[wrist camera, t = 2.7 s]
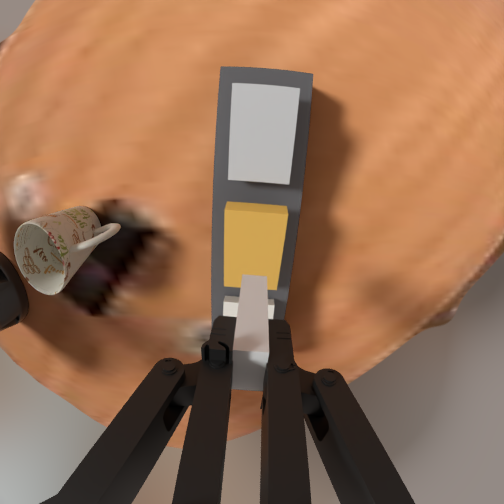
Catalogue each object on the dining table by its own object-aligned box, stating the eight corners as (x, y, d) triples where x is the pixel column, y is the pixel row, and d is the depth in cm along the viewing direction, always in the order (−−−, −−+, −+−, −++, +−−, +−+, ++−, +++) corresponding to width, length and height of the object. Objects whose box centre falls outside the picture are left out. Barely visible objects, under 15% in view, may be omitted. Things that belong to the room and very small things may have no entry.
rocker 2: (225, 275, 27) (223, 286, 26) (226, 201, 23) (224, 209, 22) (276, 279, 27) (276, 290, 26) (286, 205, 23) (288, 214, 22)
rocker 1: (230, 173, 23) (227, 179, 22) (234, 83, 19) (232, 82, 17) (287, 178, 23) (289, 184, 22) (297, 88, 19) (300, 88, 18)
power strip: (217, 363, 39) (212, 390, 34) (226, 76, 24) (219, 64, 19) (270, 367, 39) (271, 394, 34) (305, 82, 24) (315, 71, 19)
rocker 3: (222, 358, 30) (221, 366, 29) (225, 295, 28) (223, 301, 27) (266, 361, 30) (266, 369, 29) (273, 299, 28) (274, 305, 27)
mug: (54, 206, 30) (5, 232, 21) (125, 178, 28) (75, 200, 19) (74, 261, 33) (33, 298, 24) (146, 244, 32) (108, 287, 22)
